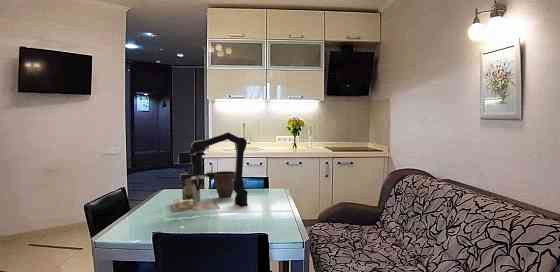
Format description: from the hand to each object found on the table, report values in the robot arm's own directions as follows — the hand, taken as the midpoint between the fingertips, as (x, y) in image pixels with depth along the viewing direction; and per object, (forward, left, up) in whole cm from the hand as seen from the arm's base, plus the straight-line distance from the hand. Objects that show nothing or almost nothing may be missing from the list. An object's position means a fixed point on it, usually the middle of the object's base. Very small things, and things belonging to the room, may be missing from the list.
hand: (197, 190), depth 220 cm
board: (+2, 0, -10) cm, 10 cm away
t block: (+8, 0, -9) cm, 12 cm away
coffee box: (+2, -18, -10) cm, 21 cm away
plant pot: (-20, -25, -10) cm, 34 cm away
